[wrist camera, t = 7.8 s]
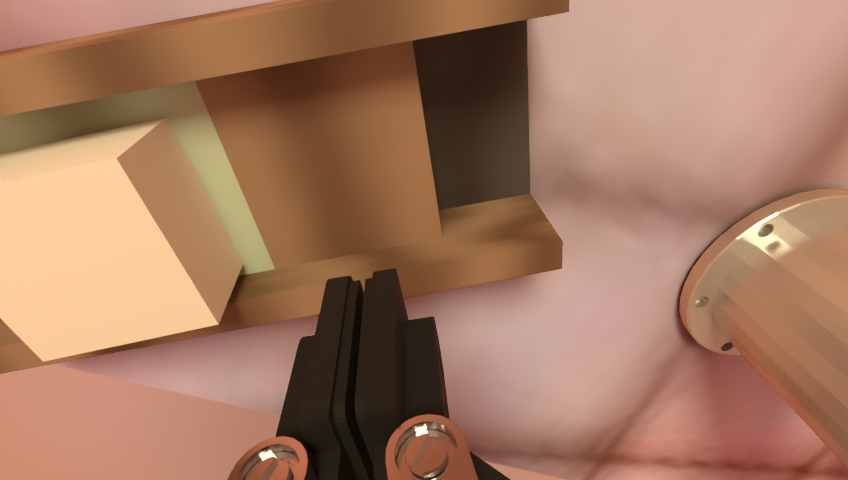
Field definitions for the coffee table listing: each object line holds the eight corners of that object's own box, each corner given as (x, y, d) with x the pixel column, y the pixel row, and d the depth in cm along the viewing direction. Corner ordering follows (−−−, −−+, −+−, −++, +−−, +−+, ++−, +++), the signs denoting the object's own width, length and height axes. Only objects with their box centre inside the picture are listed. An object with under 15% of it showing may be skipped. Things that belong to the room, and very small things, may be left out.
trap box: (522, -44, 18) (570, -44, 13) (528, 214, 24) (561, 268, 20) (-176, 84, 17) (-348, 125, 13) (22, 308, 24) (-51, 383, 20)
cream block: (167, 117, 17) (116, 158, 13) (243, 263, 20) (218, 324, 17) (-14, 156, 17) (-110, 207, 13) (96, 295, 20) (43, 361, 17)
